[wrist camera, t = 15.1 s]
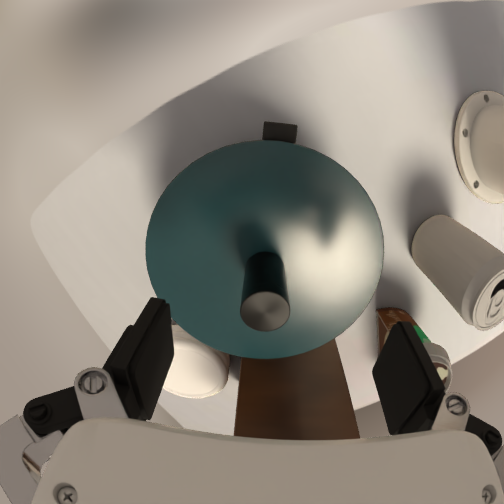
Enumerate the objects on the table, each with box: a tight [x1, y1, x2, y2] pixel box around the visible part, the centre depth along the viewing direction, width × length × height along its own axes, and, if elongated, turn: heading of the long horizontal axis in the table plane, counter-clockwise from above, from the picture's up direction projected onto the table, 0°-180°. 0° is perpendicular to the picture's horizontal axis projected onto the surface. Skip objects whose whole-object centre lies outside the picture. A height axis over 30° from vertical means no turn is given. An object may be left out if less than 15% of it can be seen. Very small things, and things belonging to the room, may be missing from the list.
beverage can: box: [412, 215, 504, 331], centre depth 21 cm, size 6×6×12 cm
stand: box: [234, 338, 360, 440], centre depth 25 cm, size 10×10×18 cm
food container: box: [376, 307, 452, 393], centre depth 27 cm, size 12×6×10 cm, turn 17°
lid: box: [146, 140, 384, 359], centre depth 16 cm, size 15×15×5 cm
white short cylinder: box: [162, 325, 230, 398], centre depth 32 cm, size 10×10×4 cm
